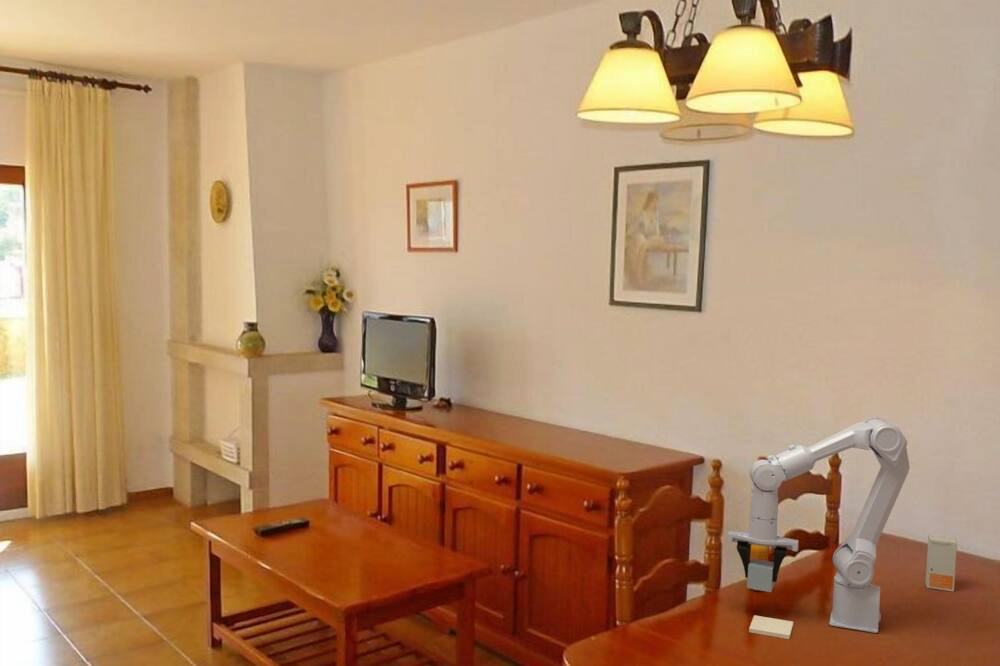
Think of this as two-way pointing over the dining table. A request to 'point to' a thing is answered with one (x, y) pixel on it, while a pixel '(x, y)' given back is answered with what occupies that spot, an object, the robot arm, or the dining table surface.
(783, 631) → the coaster
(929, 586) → the skincare box
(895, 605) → the dining table surface
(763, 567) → the cube
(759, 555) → the carrot
